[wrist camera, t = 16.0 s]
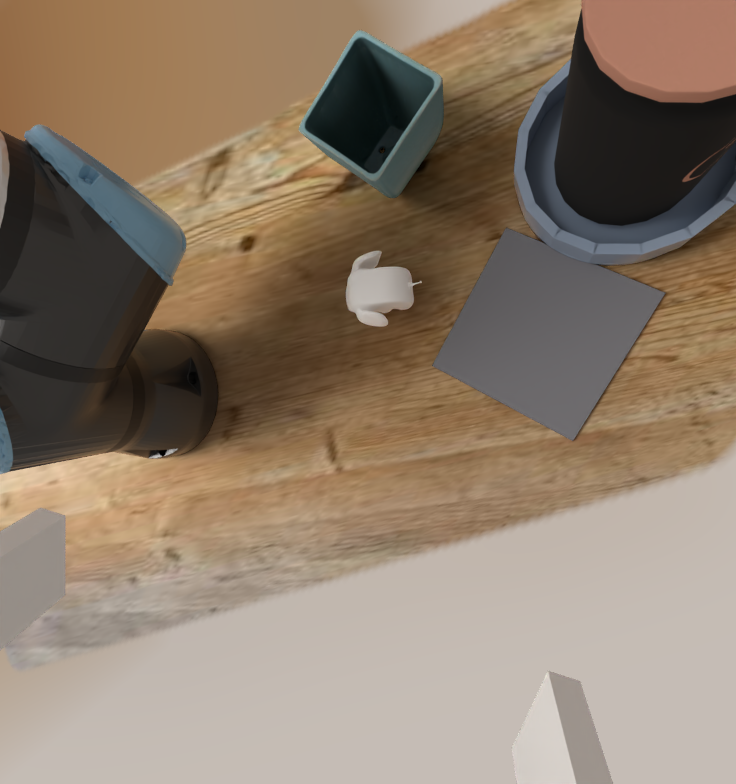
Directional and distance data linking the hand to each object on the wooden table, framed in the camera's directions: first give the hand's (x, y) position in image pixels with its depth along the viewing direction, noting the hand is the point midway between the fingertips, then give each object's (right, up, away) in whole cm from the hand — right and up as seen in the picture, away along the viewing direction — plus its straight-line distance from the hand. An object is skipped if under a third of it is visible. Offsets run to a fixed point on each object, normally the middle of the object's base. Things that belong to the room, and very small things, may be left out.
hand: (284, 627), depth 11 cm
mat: (+17, +12, +27) cm, 34 cm away
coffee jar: (+23, +25, +24) cm, 41 cm away
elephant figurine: (+4, +16, +32) cm, 36 cm away
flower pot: (+5, +29, +31) cm, 43 cm away
